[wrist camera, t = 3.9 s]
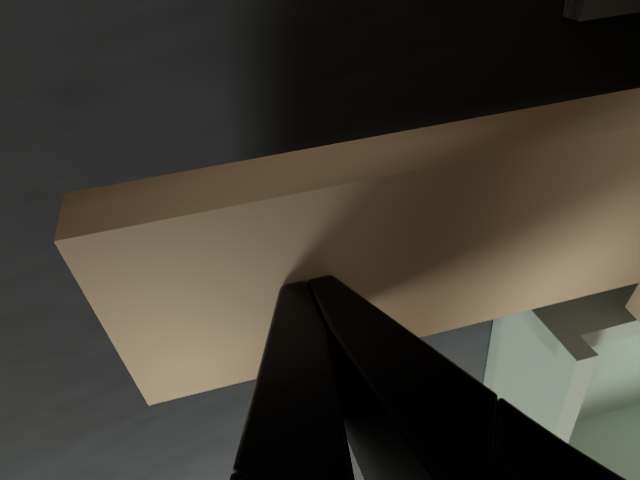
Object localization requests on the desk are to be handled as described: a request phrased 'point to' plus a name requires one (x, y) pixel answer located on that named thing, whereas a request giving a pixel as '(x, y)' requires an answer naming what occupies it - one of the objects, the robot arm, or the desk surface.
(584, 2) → the silver support block
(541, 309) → the tray
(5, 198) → the desk surface
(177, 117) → the desk surface
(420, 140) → the lever
